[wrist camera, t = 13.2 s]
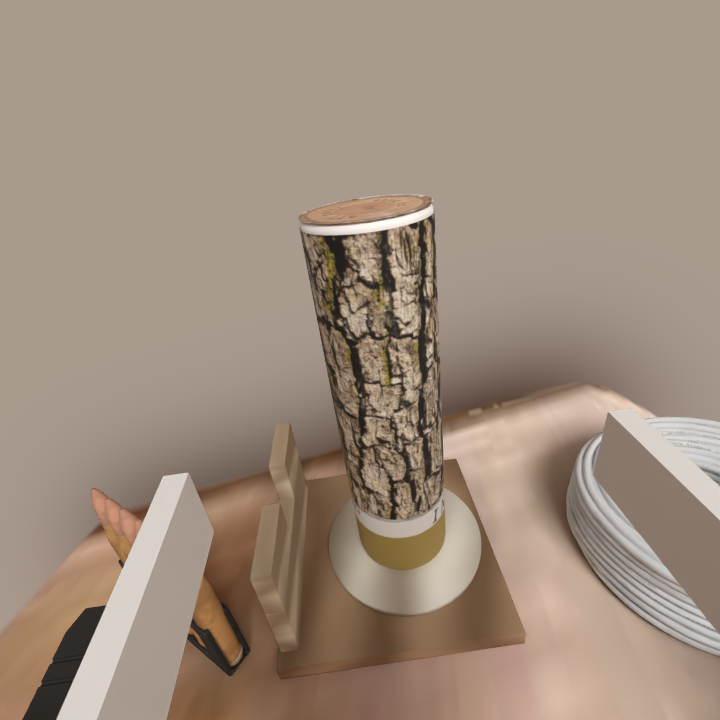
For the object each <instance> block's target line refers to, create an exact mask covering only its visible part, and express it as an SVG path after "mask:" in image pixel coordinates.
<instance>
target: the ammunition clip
mask: <svg viewBox="0 0 720 720" xmlns="http://www.w3.org/2000/svg"><path fill="white" fill-rule="evenodd" d="M91 498H92V503H93V507H94V510H95V512H96V514H97V516H98V518H99V520H100V521H101V523H102V526H103V527H104V529H105V531H106V534H107V537H108V540H109V542H110V544H111V545H112V547H113V548H114V550H115V552H116V553H117V555H118V556H119V558H120V560H119V561H118V562H119V564H120V565H121V567H122V568H123V567H124V564H125V562H126V560H127V558H128V555H129V553H130V551H131V549H132V546H133V544H134V542H135V539H136V537H137V535H138V533H139V530H140V528H141V526H142V524H143V520H141V519H138V518H137V517H136V516H135V515H134V514H133V513H131V512H130V511H129V510H127V509H125V508H123V507H122V506H121V505H120V504H118V503H117V502H116V501H114V500H113V499H110V498H109V497H108V496H106V495H105V494H104V493H103V492H101V491H100V490H98V489H96V488H93V489H92V490H91ZM187 639H188V640H189V641H190V642H191V643H192V644H193V645H195V646H196V647H197V648H198V649H199V650H200V651H201V652H202V653H204V654H205V655H206V656H207V657H208V658H209V659H210V660H212V661H213V662H214V663H215V664H216V665H217V666H218V667H219V668H221V669H222V670H223V671H224V672H225V673H226V674H227V675H229V676H231V675H232V674H233V673H234V672H235V670H236V669H237V668H238V666H239V665H240V664H241V662H242V661H243V660H244V658H245V657H246V656H247V654H248V653H249V652H250V649H249V647H248V645H247V643H246V641H245V639H244V637H243V636H242V634H241V632H240V630H239V628H238V626H237V624H236V622H235V620H234V618H233V616H232V614H231V613H230V611H229V609H228V607H227V606H225V605H224V604H223V603H221V602H220V601H219V599H218V597H217V596H216V594H215V592H214V590H213V588H212V586H211V584H210V582H209V581H208V580H207V579H206V578H205V577H204V576H203V577H202V581H201V585H200V589H199V593H198V597H197V601H196V605H195V609H194V613H193V617H192V621H191V625H190V629H189V633H188V637H187Z"/></svg>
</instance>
